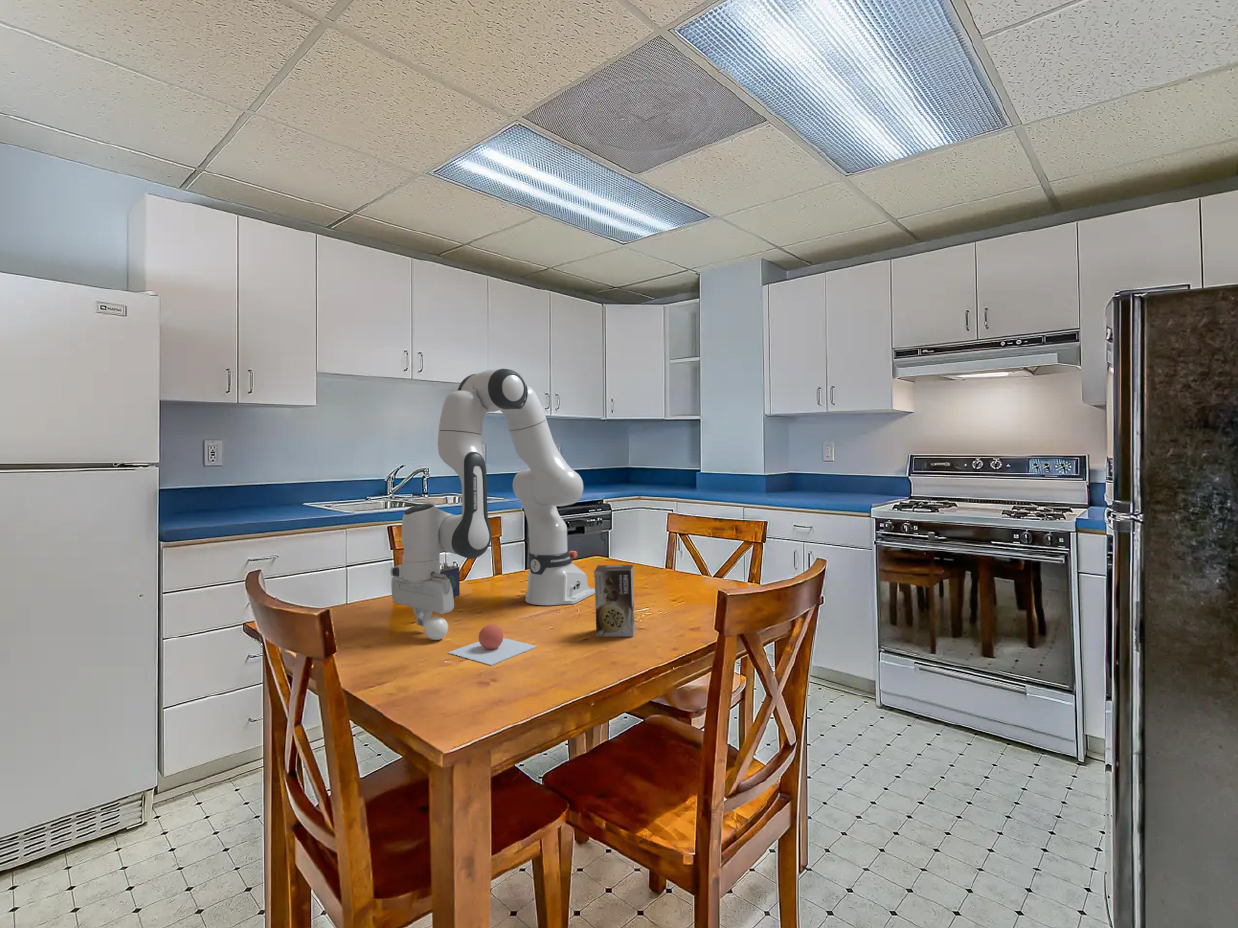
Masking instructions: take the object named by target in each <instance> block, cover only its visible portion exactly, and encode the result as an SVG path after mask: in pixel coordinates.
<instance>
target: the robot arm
mask: <svg viewBox="0 0 1238 928" xmlns="http://www.w3.org/2000/svg"><path fill="white" fill-rule="evenodd" d="M499 411H500V412H501V413H502V414H503V415H504V417H505V421H506V425H507V427H508V431H509V434H510V438H511V440H512V443H513V448H514V450H515V452H516V453H515V454H516V455H517V457H518V458H519V459H520V460H522V461H523V462H524V463H525V464H526V465H527V466H528V468H524V469H522V470H519V471H518V472H516V474H515V476H514V478H513V480H512V491H513V493H514V495H515V497H516V498H517V499H518V500H519V502H520V503H521V506H522V509H523V511H524V514H525V517H526V520H527V526H528V539H529V540H528V541H529V552H528V556H527V557H528V558H527V559H528V563H527V565H528V566H529V569H528V575H527V586H526V591H525V594H524V595H525V600H524V602H526V603H528V604H530V605H534V606H535V605H536V606H537V605H538V606H558V605H574V604H577V603H579V602H581V601H582V600H584V599H587V598H589V597H591V596H592V595H595V587H594V588H593V587H591V586H589V583H588V582H589V581H588V576H587V573H586V572H585V571H583V570H582V569H580V567H578V566H577V565H575V564H574V563H573V560H572V558H573V559H576V558H577V557H578V551H576V550H570V551H569V550H568V527H567V524H566V522H565V521H564V519H563V518H562V517H561V515H560V513H559V512H558V508H557V507H565V506H570V505H574V504H576V503H577V502H578V501H580V500H581V498H582V496H583V494H584V493H583V492H584V481H583V479H582V477H581V476H580V474H579V473H578V472H577V471H575V470H573V468H572V467H571V466H570V465H569V464H568V463H567V462H566V460H565V459H564V457H563V455H562V454H561V452H560V451H559V449H558V448H557V445H556V444H555V440H554V438H553V436H552V432H551V429H550V426H549V423H548V420H547V416H546V414H545V411H544V408H543V406H542V403H541V401H540V399H539V396H538V395H537V393H536V391H535V390H534V389H533V388H532V387H531V386H529V385H527V384H526V382H525V380H524V378H523V377H522V376H521V374H519V373H518V372H517V371H515V370H513V369H509V368H499V369H488V370H487V369H486V370H485V371H481V372H478V373H473V374H470V375H468V376H466V377H465V378H464V379H463V380H462V381H461V382H460V384H459V385H458V388H457V390H456V391H452V392H450V393H448V395H447V396H446V397H445V399H444V402H443V406H442V409H441V414H440V418H439V425H438V431H437V432H438V433H437V435H438V436H437V449H438V455H439V457H440V459H441V460H442V461H443V462H444V463H445V465H447V466H448V467H450V468H451V469H452V470H453V471H454V472H455V473H456V475H457V476H458V477H459V479H460V483H461V515H457V514H453V513H449V512H446V511H444V510H442V509H439V508H438V507H437V506H435V504H432V503H422V504H416V505H414V506H410V507H409V508H408V509H406V510H405V511H404V513H403V515H402V521H401V544H402V548H403V555H402V559H401V562H402V564H398V565H396V566H393V567H392V566H391V568H390V570H389V572H390V576H391V577H392V578H391V581H390V582H391V583H390V584H391V585H390V586H391V599H392V601H393V602H394V604H398V605H403V606H405V607H406V606H407V607H411V608H412V611H413V614H414V617H415V619H416V625H417V626H420V627H423V628H424V627H425V624H426V622H427V621H428V620H429V619H430V618H432V615H433V613H437V614H442V615H443V614H446V613H450V612H452V611H453V610H454V608H455V600H454V599H455V597H453V591H452V586H451V583H450V580H449V579H448V578H447V577H446V575H445V574H440V570H441V562H440V556H441V555H440V554H441V553H442V552H446V553H449V554H453V555H458V556H460V557H463V558H466V559H471V560H472V559H477V558H479V557H481V556H483V555H484V554H485V553H486V552H487V551H488V549H489V547H490V545H491V541H492V537H493V534H492V533H493V531H492V528H491V524H490V520H489V515H488V481H487V480H488V477H487V475H488V474H487V465H486V462H485V459H484V456H483V444H482V443H483V442H482V441H483V422H484V419H485V416H486V415H487V413H495V412H499ZM445 578H446V579H445Z"/></svg>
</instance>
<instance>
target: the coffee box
mask: <svg viewBox="0 0 1238 928" xmlns="http://www.w3.org/2000/svg"><path fill="white" fill-rule="evenodd" d="M593 573H594V575H593V576H594V579H593V580H594V589H595V593H594V600H595V637H597V638H599V637H603V638H604V637H605V638H606V637H621V638H622V637H624V638H625V637H634V635H635V630H636V626H635V625H636V624H635V595H634V594H635V593H634V591H635V590H634V588H635V587H634V565H633V564H611V565H610V564H609V565H608V564H607V565H605V564H603V565H600V564H599V565H596V567H595V569H594V571H593Z"/></svg>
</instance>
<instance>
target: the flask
mask: <svg viewBox="0 0 1238 928" xmlns="http://www.w3.org/2000/svg"><path fill="white" fill-rule="evenodd" d="M440 574H445V575H446V577H447V578H448V579H449V580H450V583H451V586H452V591H453V598H456V597H455V596H457V597H460V596H461V595H460V594H461V593H460V586H461V585H460V567H459V566H458V565H457V566H456V565H450V566H449V564H448V563H447V562H444V563H443V562H442V569H441V568H440ZM445 579H446V578H445ZM459 595H460V596H459Z"/></svg>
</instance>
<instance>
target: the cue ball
mask: <svg viewBox="0 0 1238 928" xmlns="http://www.w3.org/2000/svg"><path fill="white" fill-rule="evenodd" d="M423 628H424V629H423V630H424V631H423V632H424V634H425V636H426V637H427V638H428V639H429V640H431V641H440V640H442V639H443V638H444V637H446V635H447V633H448V631H449V623H448V622H447V620H446V619H445V618H444V617H442V616H431V617H430V619H429V620H428V621H427V622H426V624H425V627H424V626H423Z"/></svg>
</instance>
